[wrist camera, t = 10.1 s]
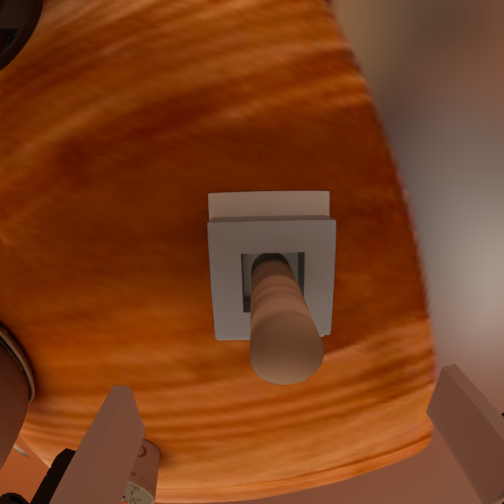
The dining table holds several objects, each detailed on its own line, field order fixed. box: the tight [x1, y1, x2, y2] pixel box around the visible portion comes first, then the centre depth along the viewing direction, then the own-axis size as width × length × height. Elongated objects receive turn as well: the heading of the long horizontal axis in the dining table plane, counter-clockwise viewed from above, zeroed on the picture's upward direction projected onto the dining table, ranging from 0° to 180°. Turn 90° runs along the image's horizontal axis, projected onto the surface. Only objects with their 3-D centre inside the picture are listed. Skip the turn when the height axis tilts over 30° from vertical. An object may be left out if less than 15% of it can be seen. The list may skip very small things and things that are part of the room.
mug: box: [121, 440, 160, 504], centre depth 35 cm, size 8×13×10 cm, turn 173°
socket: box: [207, 191, 336, 340], centre depth 30 cm, size 16×12×5 cm
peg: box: [250, 253, 324, 385], centre depth 23 cm, size 4×4×16 cm
